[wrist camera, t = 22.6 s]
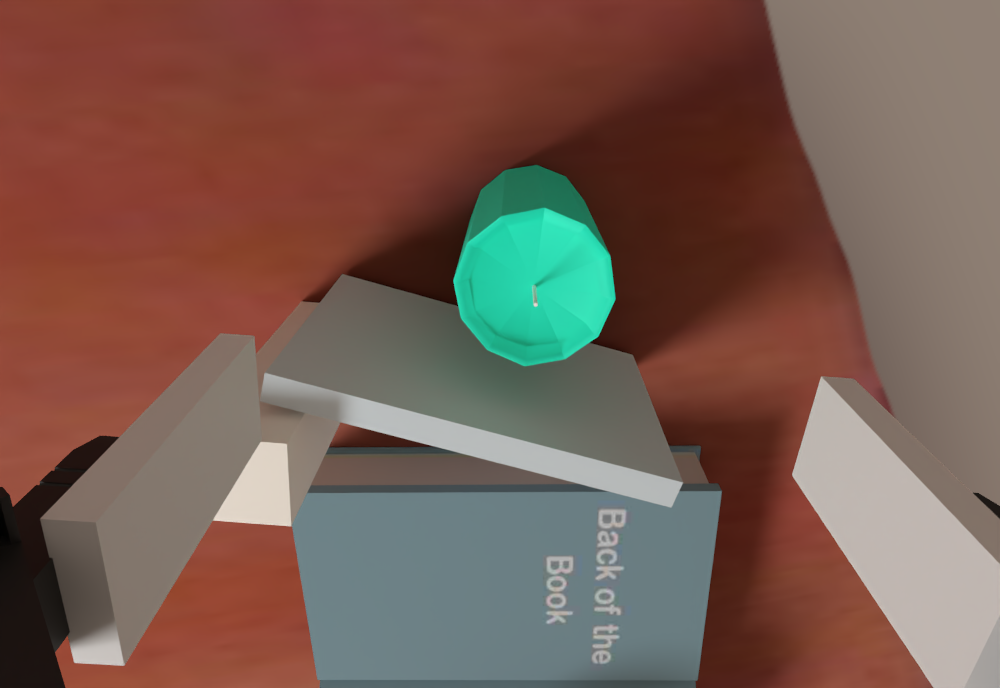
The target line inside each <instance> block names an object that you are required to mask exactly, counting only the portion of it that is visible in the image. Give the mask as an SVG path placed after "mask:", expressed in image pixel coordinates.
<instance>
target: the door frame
mask: <svg viewBox="0 0 1000 688" xmlns="http://www.w3.org/2000/svg"><path fill="white" fill-rule="evenodd" d="M318 304H319V303H316V302H304V301H301V303H300V304H299V305H298V306H297V307H296V308H295V310H294V311H293V312H292V313H291V314H290V315H289V317H288V318H287V319H286V320H285V321H284V322H283V323H282V325H281V326H280V327H279V328H278V329H277V330H276V332H275V333H274V334H273V335H272V336H271V337H270V339H269V340H268V341H267V342H266V343H265V344H264V345H263V347H262V348H261V349H260V350H259V351H258V352H257V354H256V365H257V379H258V392H259V406H260V420H261V433H262V440H261V442H260V444H259V445H258V447H257V448H256V450H255V452H254V453H253V455H252V457H251V458H250V460H249V462H248V463H247V465H246V467H245V468H244V470H243V471H242V473H241V475H240V476H239V478H238V480H237V481H236V483H235V485H234V486H233V488H232V490H231V491H230V493H229V494H228V496H227V498H226V499H225V501H224V503H223V504H222V506H221V508H220V509H219V511H218V513H217V514H216V516H215V517H214V519H213V520H214V521H227V522H241V523H254V524H267V525H281V526H292V524H293V522H294V519H295V517H296V515H297V513H298V511H299V509H300V507H301V505H302V503H303V500H304V498H305V496H306V494H307V492H308V490H309V488H310V486H311V483H312V481H313V479H314V477H315V475H316V473H317V471H318V469H319V467H320V464H321V462H322V460H323V458H324V456H325V454H326V452H327V450H328V448H329V445H330V443H331V441H332V439H333V437H334V435H335V433H336V431H337V429H338V426H339V424H340V422H338V421H334V420H330V419H326V418H322V417H318V416H315V415H311V414H307V413H303V412H299V411H295V410H291V409H287V408H284V407H280V406H276V405H272V404H268V403H264V402H260V397H261V392H262V386H263V380H264V374H265V372H266V371H267V369H268V368H269V367H270V365H271V364H272V363H273V362H274V360H275V359H276V358H277V357H278V355H279V354H280V353H281V351H282V350H283V349H284V348H285V346H286V345H287V344H288V342H289V341H290V340H291V339H292V337H293V336H294V335H295V334H296V332H297V331H298V330H299V328H300V327H301V326H302V325H303V323H304V322H305V321H306V320H307V318H308V317H309V316H310V314H311V313H312V312H313V311H314V309H315V308H316V307H317V306H318Z"/></svg>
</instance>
